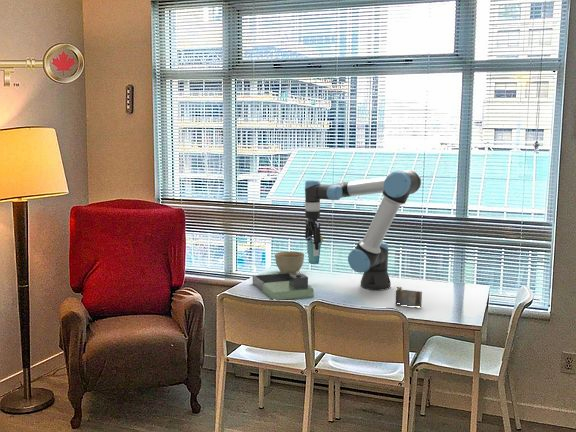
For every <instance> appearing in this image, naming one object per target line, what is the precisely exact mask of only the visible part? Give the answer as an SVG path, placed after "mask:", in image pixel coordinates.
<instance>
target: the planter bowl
mask: <svg viewBox="0 0 576 432" xmlns="http://www.w3.org/2000/svg"><path fill="white" fill-rule="evenodd" d="M274 258H275V263H276V267H277V269H279V272H280V273H291V274H292V275H295V274H296V272H297V271H300V270H301V269H302V266H303V264H304V258H305V253H304V252H299V251H280V252H275V253H274Z"/></svg>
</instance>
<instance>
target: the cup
mask: <svg viewBox="0 0 576 432" xmlns="http://www.w3.org/2000/svg"><path fill="white" fill-rule="evenodd" d="M309 238H310V242H308V243H307V242H306V246H307V245H308V253H307V255H308V264H311V265H317V264H319V263H320V256H321V247H322V244H323V240H324V239H323V236H322V235H321V243H319V256H313V242H314V240H312V239H313V238H312V239H311V237H310V236H309V237H307V238H306V239H305V240H306V241H307V239H309Z"/></svg>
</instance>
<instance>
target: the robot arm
mask: <svg viewBox="0 0 576 432" xmlns="http://www.w3.org/2000/svg"><path fill="white" fill-rule="evenodd" d="M421 186H422V179H421V176H420V174H419V173H418V172H417V171H416V170H413V169H404V170H396V171H393V172H391V173H389V174H387V176H383V177H375V178H368V179H361V180H353V181H345V182H344V181H343V182H340V183H338V182H337V183H331V184H321V181H320V180H319V179H308V180H305V184H304V193H305V194H304V195H305V196H304V197H305V200H304V201H305V202H304V203H305V204H304V206H305V209H304V210H305V212H304V214H305V215H304V217H305V218H306V219H307V220H305V230H304V231H305V233H304V234H305V235H304V238H305V240H306V238H307V237H309V236H310V237H311V239H312V241H314V242H313V256H319V243H321V236H322V235H321V223H320V222H318V219H320V218H321V211H320V210H321V200H328V201H340V199H341V198H343V199H344V198H349V197H357V196H364V195H374V194H382V196H383V198H382V200H381V202H380V204H379V205H378V208H377V210H376V213H375V214H374V217H373V218H372V220H371V223H370V225H369V227H368V229H367V231H366V233H365V235H364V237H363V239H359V240H358V242H357V244H356V246H355V249H352V250H350V252H349V254H348V256H347V263H348V265H349V268H351V270H353V271H354V272H357V273H360V274H361V273H362V276H361V279H360V287H361V288H363V289H367V290H372V291H373V290H374V291H375V290H376V291H380V289H384V290H388V289H390V288H391V287H392V286H391V285H392V284H391V280H390V276H389V275H390V274H389V272H388V271H389V270H388V264H389V261H388V260H389V244H388V243H387V242H384V239H385V237H386V235H387V233H388V231H389V230H390V227H391V225H392V222H393V220H395V219H394V218H395V217H396V215H397V213H398V211H399V209H400V207H401V206H403V205H405V204H406V202H407V201H408V198H409V196H410V195H412V194H414V193H416V192H418V190H419V189H421V188H420V187H421ZM308 242H310V238H309V239H307V240H306V253H307V254H308V245H307V243H308ZM390 286H391V287H390ZM389 287H390V288H389ZM387 288H388V289H387Z"/></svg>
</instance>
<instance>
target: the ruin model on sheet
mask: <svg viewBox="0 0 576 432" xmlns="http://www.w3.org/2000/svg"><path fill="white" fill-rule="evenodd" d="M422 299H423V292H422V291H418V290H409V289H402V286H396V290H395V303H394V305H395V304H397V303H400V305H407V306H420V307H421V308H422V306H423V305H422V302H423V301H422ZM400 305H399V306H400Z"/></svg>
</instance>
